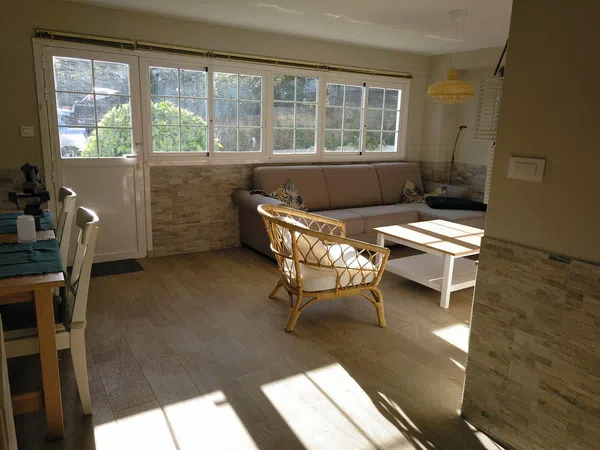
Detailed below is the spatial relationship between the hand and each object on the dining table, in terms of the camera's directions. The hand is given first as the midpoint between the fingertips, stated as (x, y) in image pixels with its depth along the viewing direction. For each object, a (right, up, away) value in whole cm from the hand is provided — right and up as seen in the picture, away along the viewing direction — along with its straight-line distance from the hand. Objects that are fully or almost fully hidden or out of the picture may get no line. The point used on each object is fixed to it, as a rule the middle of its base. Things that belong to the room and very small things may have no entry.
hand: (28, 209), depth 232 cm
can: (+4, -15, -8) cm, 18 cm away
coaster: (+4, -16, -8) cm, 19 cm away
